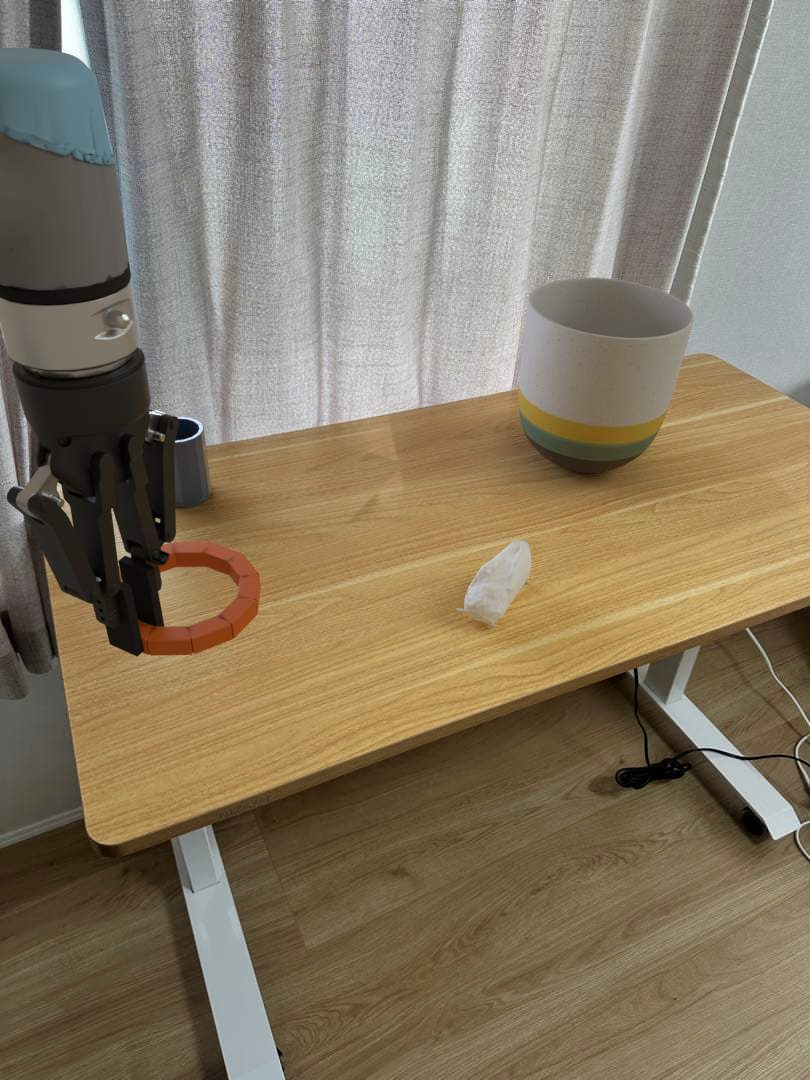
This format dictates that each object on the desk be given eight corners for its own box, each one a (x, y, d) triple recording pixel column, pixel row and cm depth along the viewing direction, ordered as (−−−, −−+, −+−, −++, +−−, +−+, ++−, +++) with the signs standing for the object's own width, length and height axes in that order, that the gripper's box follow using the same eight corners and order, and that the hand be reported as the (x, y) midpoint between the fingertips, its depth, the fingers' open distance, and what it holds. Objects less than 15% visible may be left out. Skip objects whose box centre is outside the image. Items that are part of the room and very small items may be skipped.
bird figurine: (482, 578, 90) (450, 614, 82) (504, 527, 87) (473, 559, 78) (521, 599, 89) (493, 637, 80) (545, 548, 86) (518, 583, 77)
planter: (676, 495, 103) (722, 337, 90) (527, 502, 100) (553, 340, 87) (624, 421, 118) (657, 276, 105) (494, 425, 116) (511, 277, 103)
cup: (150, 498, 98) (138, 433, 92) (183, 475, 102) (173, 412, 97) (190, 513, 96) (180, 447, 90) (221, 488, 100) (213, 425, 95)
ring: (70, 622, 64) (66, 607, 63) (171, 540, 73) (169, 526, 72) (197, 676, 60) (195, 661, 59) (288, 583, 69) (287, 568, 68)
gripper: (26, 419, 41) (106, 721, 56) (206, 325, 52) (235, 599, 66) (-75, 384, 44) (26, 682, 58) (117, 301, 55) (163, 570, 69)
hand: (137, 637), depth 62 cm, fingers closed on ring, 2 cm apart
